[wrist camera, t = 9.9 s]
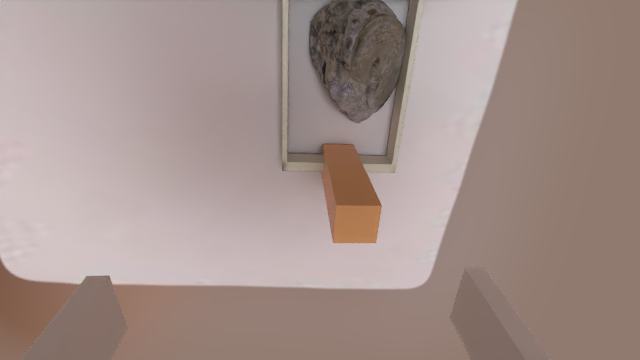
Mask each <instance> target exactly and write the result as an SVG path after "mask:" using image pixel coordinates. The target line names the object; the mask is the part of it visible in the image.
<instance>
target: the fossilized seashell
mask: <svg viewBox="0 0 640 360" xmlns="http://www.w3.org/2000/svg"><path fill="white" fill-rule="evenodd" d="M405 47H406V35H405V31H404V27H403V25H402V23H401V22H400V21H399V20H398V19H397V18H396V15H395V14H394V12H393V11H392V10H391V9H390V8H389V7H388V6H387V5H386V4H385V3H384V2H383V1H381V0H375V1H367V0H338V1H332V2H331V3H330V4H328V5H326V6H325V7H323V8H322V9H321V10H319V11H318V12H317V14H316V15H315V17H314V19H313V20H312V21H311V30H310V52H311V56H312V60H313V63H314V65H315V67H316V69H317V70H318V71H319V72H320V74H321V75H320V77H321V80H322V82H323V83H324V84H325V85H326V88H327V89H329V94H330V96H331V98H332V100H335V101H336V103H337V104H338V106H339V108H340V111H341V112H343V113H345V114H346V115H348V117H349V118H350V119H351V120H353V121H354V122H355V123H360V122H361V121H363V120H365V119H367V118H369V117H370V116H371V115H372V114H373V113H375V112H377V111H378V110H379V109H380V108H381V107H382V106H383V105H384V103H385V102H386V101H387V100H388V98H389V97H390V95H391V93H392V92H393V90H394V88H395V87H396V85H397V82H398V79H399V76H400V72H401V68H402V63H403V58H404V53H405Z"/></svg>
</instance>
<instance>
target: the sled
mask: <svg viewBox="0 0 640 360" xmlns="http://www.w3.org/2000/svg"><path fill="white" fill-rule="evenodd" d="M423 5H424V0H410V4H409V11H408V17H407V24H406V31H405V35H406V47H405V53H404V58H403V63H402V68H401V72H400V76H399V79H398V83H397V89H396V96H395V103H394V109H393V116H392V122H391V129H390V135H389V142H388V148H387V155H386V156H366V155H358V153H357V151H356V149H355V147H354V145H337V144H323V153H322V154H287V153H288V48H289V0H283V35H282V171H321V173H322V179H323V185H324V191H325V197H326V203H327V209H328V215H329V221H330V227H331V233H332V239H333V243H376V239H377V233H378V226H379V220H380V214H381V207H382V205H381V203H380V201H379V199H378V197H377V195H376V192H375V190H374V188H373V186H372V184H371V182H370V179H369V177H368V175H367V173H366V172H378V173H395V170H396V164H397V158H398V152H399V147H400V141H401V135H402V129H403V123H404V117H405V111H406V105H407V99H408V93H409V88H410V82H411V76H412V70H413V64H414V58H415V52H416V46H417V40H418V34H419V29H420V23H421V17H422V11H423Z"/></svg>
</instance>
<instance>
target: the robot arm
mask: <svg viewBox="0 0 640 360" xmlns="http://www.w3.org/2000/svg"><path fill="white" fill-rule="evenodd" d="M450 319H451V321H452V323H453V325H454V327H455V329H456V331H457V333H458V335H459V337H460V339H461V341H462V342H463V345H464V347H465V349H466V351H467V353H468V355H469V357H470V359H471V360H552V359H551V358H550V356H549V355H548V354H547V352H546V351H545V350H544V348H543V347H542V345H541V344H540V343H539V341H538V340H537V339H536V337H535V336H534V335H533V333H532V332H531V330H530V329H529V328H528V326H527V325H526V324H525V322H524V321H523V320H522V318H521V317H520V316H519V314H518V313H517V311H516V310H515V309H514V307H513V306H512V305H511V303H510V302H509V300H508V299H507V298H506V296H505V295H504V294H503V292H502V291H501V290H500V288H499V287H498V286H497V284H496V283H495V281H494V280H493V279H492V277H491V276H490V275H489V273H488V272H487V271H486V269H485V268H484V267H469V268H465V269H464V272H463V275H462V279H461V282H460V285H459V289H458V292H457V295H456V299H455V302H454V305H453V308H452V312H451V315H450ZM127 329H128V327H127V324H126V321H125V318H124V316H123V313H122V310H121V307H120V304H119V302H118V299H117V296H116V293H115V290H114V287H113V285H112V282H111V279H110V276H87V277H86V278H85V279H84V280H83V282H82V283H81V284H80V285H79V287H78V288H77V289H76V290H75V292H74V293H73V294H72V295H71V297H70V298H69V299H68V300H67V302H66V303H65V304H64V305H63V307H62V308H61V309H60V310H59V312H58V313H57V314H56V315H55V317H54V318H53V319H52V320H51V322H50V323H49V324H48V325H47V327H46V328H45V329H44V330H43V332H42V333H41V334H40V336H39V337H38V338H37V339H36V341H35V342H34V343H33V344H32V346H31V347H30V348H29V349H28V351H27V352H26V353H25V354H24V355H23V357H22V358H21V359H20V360H111V359H112V357H113V355H114V353H115V351H116V350H117V348H118V346H119V344H120V342H121V340H122V338H123V337H124V335H125V333H126V331H127Z"/></svg>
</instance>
